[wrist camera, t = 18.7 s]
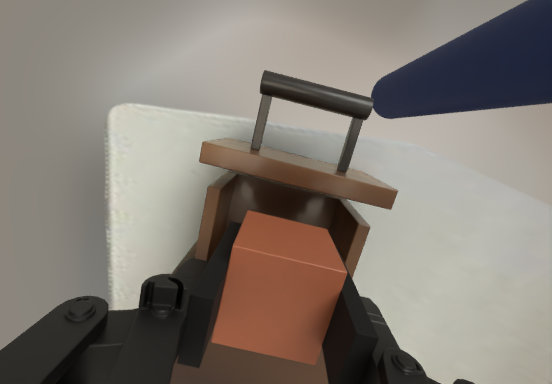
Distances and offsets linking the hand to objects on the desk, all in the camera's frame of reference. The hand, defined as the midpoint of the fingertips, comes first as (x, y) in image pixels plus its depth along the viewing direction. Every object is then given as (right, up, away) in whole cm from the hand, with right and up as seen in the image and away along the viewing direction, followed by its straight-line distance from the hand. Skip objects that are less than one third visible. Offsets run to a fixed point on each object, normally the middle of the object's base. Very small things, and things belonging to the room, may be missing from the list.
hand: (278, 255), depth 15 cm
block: (0, 0, 0) cm, 0 cm away
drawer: (0, +3, +7) cm, 8 cm away
